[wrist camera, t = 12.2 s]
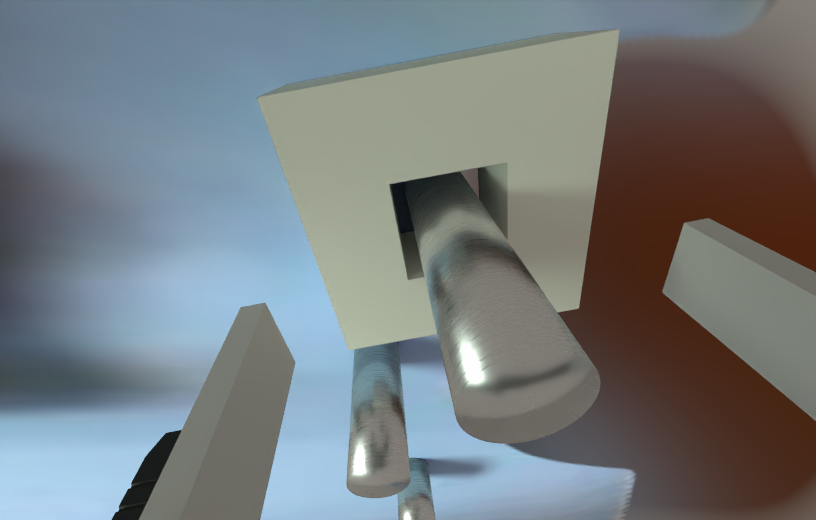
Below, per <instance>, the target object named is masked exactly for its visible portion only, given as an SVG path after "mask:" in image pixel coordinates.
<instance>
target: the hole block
mask: <svg viewBox="0 0 816 520" xmlns="http://www.w3.org/2000/svg"><path fill="white" fill-rule="evenodd" d="M619 33H620V29H613V30H599V31H585V32H571V33H557V34H551V35H546V36H540V37H535V38H530V39H524V40H519V41H514V42H508V43H503V44H498V45H493V46H487V47H482V48H477V49H471V50H466V51H461V52H456V53H450V54H445V55H440V56H434V57H429V58H424V59H418V60H413V61H408V62H403V63H397V64H392V65H387V66H381V67H376V68H371V69H366V70H360V71H355V72H350V73H344V74H339V75H334V76H328V77H323V78H318V79H313V80H307V81H302V82H297V83H291V84H286V85H284V86H282V87H280V88H277V89H275V90H273V91H271V92H268V93H266V94H264V95H261V96H259V97H257V100H258V103H259V105H260V108H261V111H262V114H263V116H264V119H265V122H266V125H267V127H268V130H269V133H270V136H271V138H272V141H273V144H274V147H275V149H276V152H277V155H278V158H279V160H280V163H281V166H282V169H283V171H284V174H285V177H286V179H287V182H288V185H289V188H290V190H291V193H292V196H293V199H294V201H295V204H296V207H297V210H298V212H299V215H300V218H301V221H302V223H303V226H304V229H305V232H306V234H307V237H308V240H309V243H310V245H311V248H312V251H313V254H314V256H315V259H316V262H317V265H318V267H319V270H320V273H321V276H322V278H323V281H324V284H325V287H326V289H327V292H328V295H329V298H330V300H331V303H332V306H333V308H334V311H335V314H336V317H337V319H338V322H339V325H340V328H341V330H342V333H343V336H344V339H345V341H346V344H347V347H348V350H353V349H358V348H364V347H369V346H375V345H380V344H386V343H391V342H397V341H402V340H408V339H413V338H419V337H424V336H430V335H435V334H437V330H436V326H435V322H434V317H433V313H432V308H431V304H430V299H429V295H428V290H427V286H426V281H425V277H424V273H423V268H422V264H421V259H420V255H419V250H418V246H417V241H416V237H415V232H414V231H411V232H406V233H401V232H400V227H399V222H398V217H397V212H396V207H395V201H394V196H393V191H392V186H391V184H393V183H398V182H404V181H409V180H414V179H420V178H425V177H431V176H436V175H441V174H447V173H452V172H458V171H463V170H468V169H474V168H478V180H479V200H480V201H481V203H482V204H483V206H484V207H485V209H486V210H487V211H488V213H489V214H490V216H491V217H492V219H493V220H494V222H495V223H496V224H497V226H498V227H499V229H500V230H501V232H502V233H503V235H504V236H505V238H506V239H507V240H508V242H509V243H510V245H511V246H512V248H513V249H514V251H515V252H516V253H517V255H518V256H519V258H520V259H521V261H522V262H523V264H524V265H525V266H526V268H527V269H528V271H529V272H530V274H531V275H532V277H533V278H534V279H535V281H536V282H537V284H538V285H539V287H540V288H541V290H542V291H543V293H544V294H545V295H546V297H547V298H548V300H549V301H550V303H551V304H552V306H553V307H554V308H555V310H556V311H557V312H562V311H568V310H573V309H578V308H579V302H580V297H581V290H582V283H583V276H584V270H585V263H586V256H587V249H588V243H589V236H590V229H591V222H592V215H593V208H594V202H595V195H596V189H597V181H598V175H599V168H600V161H601V155H602V148H603V141H604V135H605V128H606V121H607V114H608V108H609V100H610V94H611V87H612V80H613V74H614V66H615V60H616V53H617V47H618V40H619Z"/></svg>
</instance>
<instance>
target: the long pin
mask: <svg viewBox="0 0 816 520" xmlns="http://www.w3.org/2000/svg"><path fill="white" fill-rule="evenodd" d="M406 197H407V201H408V206H409V210H410V215H411V219H412V224H413V228H414V232H415V237H416V241H417V246H418V250H419V255H420V259H421V264H422V268H423V273H424V277H425V281H426V286H427V290H428V295H429V299H430V304H431V308H432V313H433V317H434V322H435V326H436V330H437V335H438V339H439V344H440V348H441V353H442V357H443V362H444V366H445V371H446V375H447V380H448V384H449V388H450V393H451V397H452V402H453V406H454V411H455V415H456V419H457V422H458V424H459V425H460V427H461V428H462V429H463V430H464V431H465V432H466V433H467V434H469V435H471V436H472V437H475V438H477V439H479V440H483V441H487V442H492V443H519V442H526V441H531V440H535V439H538V438H542V437H545V436H548V435H550V434H553V433H555V432H557V431H559V430H561V429H563V428H565V427H567V426H568V425H570V424H572V423H573V422H575V421H576V420H577V419H579V418H580V417H581V416H582V415H583V414H584V413H586V411H587V410H588V409H589V408H590V407H591V406H592V404H593V403H594V401H595V400H596V398H597V395H598V393H599V390H600V377H599V373H598V371H597V369H596V368H595V366H594V365H593V363H592V362H591V361H590V359H589V358H588V356H587V355H586V353H585V352H584V350H583V349H582V347H581V346H580V345H579V343H578V342H577V340H576V339H575V337H574V336H573V334H572V333H571V332H570V330H569V329H568V327H567V326H566V324H565V323H564V321H563V320H562V319H561V317H560V316H559V314H558V313H557V311H556V310H555V308H554V307H553V306H552V304H551V303H550V301H549V300H548V298H547V297H546V295H545V294H544V293H543V291H542V290H541V288H540V287H539V285H538V284H537V282H536V281H535V279H534V278H533V277H532V275H531V274H530V272H529V271H528V269H527V268H526V266H525V265H524V264H523V262H522V261H521V259H520V258H519V256H518V255H517V253H516V252H515V251H514V249H513V248H512V246H511V245H510V243H509V242H508V240H507V239H506V238H505V236H504V235H503V233H502V232H501V230H500V229H499V227H498V226H497V224H496V223H495V222H494V220H493V219H492V217H491V216H490V214H489V213H488V211H487V210H486V209H485V207H484V206H483V204H482V203H481V201H480V200H479V198H478V197H477V196H476V194H475V193H474V191H473V190H472V188H471V187H470V186H469V184H468V183H467V181H466V180H465V178H464V177H463V175H462V174H461V172H460V171H458V172H452V173H447V174H441V175H436V176H431V177H425V178H420V179H414V180H409V181H407V182H406Z"/></svg>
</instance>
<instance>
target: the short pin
mask: <svg viewBox="0 0 816 520" xmlns="http://www.w3.org/2000/svg"><path fill="white" fill-rule="evenodd" d="M409 467H410V479H411V480H410V484H409V485H408V486H407V488H405V489H404V490H403V491H401V492H399V493H397V497H398V515H399V520H435V513H434V506H433V498H432V491H431V483H430V476H429V468H428V463H427V462H426V461H425V460H423V459H419V458H410V459H409Z"/></svg>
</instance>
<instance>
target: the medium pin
mask: <svg viewBox="0 0 816 520" xmlns="http://www.w3.org/2000/svg"><path fill="white" fill-rule="evenodd" d="M410 480H411V479H410V467H409V456H408V445H407V434H406V422H405V411H404V400H403V389H402V377H401V366H400V355H399V345H398V343H397V342H391V343H386V344H380V345H375V346H369V347H364V348H358V349H354V365H353V382H352V399H351V416H350V433H349V450H348V467H347V488H348V489H349V491H350V492H352V493H353V494H355V495H358V496H361V497H366V498H382V497H388V496H392V495H395V494H397V493H399V492H401V491H403V490H404V489H405V488H407V486H408V485H409V484H410Z"/></svg>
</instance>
